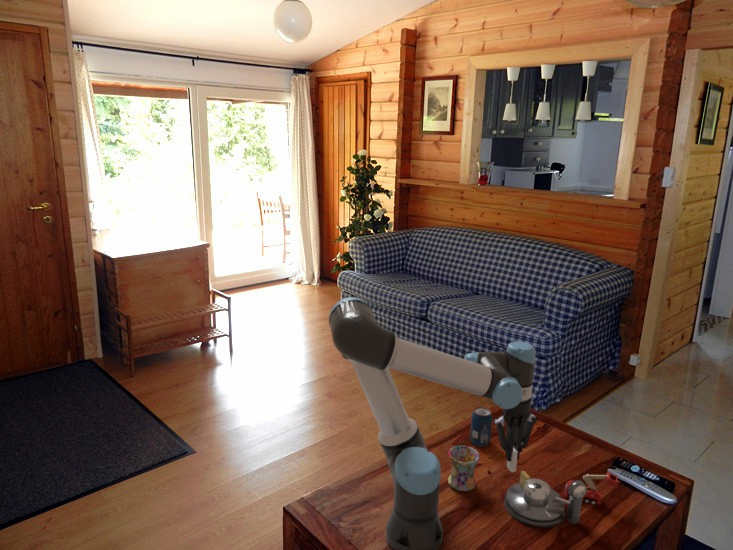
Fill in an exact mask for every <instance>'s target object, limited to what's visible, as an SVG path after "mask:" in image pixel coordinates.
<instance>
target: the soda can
mask: <svg viewBox="0 0 733 550" xmlns="http://www.w3.org/2000/svg"><path fill="white" fill-rule="evenodd" d="M470 421H471V423H470V433H469V435H470V436H469V439H470V441H471V443H472V445H474V446H476V447H479V448H482V447H487V446H488V445H489V444H490V442H491V440H492V439H491V437H492V426H493V415H492V411H491V410H490V409H489V408H486V407H484V406H483V407H482V406H481V407H480V406H479V407H475V408H474V410H473V412H472V413H471V420H470Z"/></svg>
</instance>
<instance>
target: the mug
mask: <svg viewBox="0 0 733 550" xmlns="http://www.w3.org/2000/svg"><path fill="white" fill-rule="evenodd" d="M448 457H449V459H450V462H451V463H450V464H451V472H450V475H449V477H448V479H447V482H448V485H449V486H450V487H451V488H452V489H454V490H456V491H459V492H469V491H472V490H473V489H475V487H476V485H477V481H476V479H475V469H476V465H477V464H478V462H479V460H480V458H481V455H480V453H479V452H478V451H477V450H476V449H475V448H473V447H470V446H468V445H457V446H456V445H455V446H453V447H451V448H450V449H449V450H448Z"/></svg>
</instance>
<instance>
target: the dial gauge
mask: <svg viewBox="0 0 733 550" xmlns="http://www.w3.org/2000/svg"><path fill="white" fill-rule="evenodd" d="M572 481H573V482H572V483H571V484H570V485H569V487H568V492H569V494H570V495H569V497H568V500H566V499H564V498H562V499H561V498H558V497H556V499H555V500H557V501H560V502H563V503H564V504H565V505H566V504H567V510H566V516H565V519H566V520H567V521H568V522H569V524H570V525H574V524H578V523H580V516H581V511H582V503H583V501H582V498H583V497H584V496H585V495H586V493H587V487H586V486H587V484H585V483H584V482H583V481H581V480H579V479H577V480H572Z"/></svg>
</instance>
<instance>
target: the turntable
mask: <svg viewBox="0 0 733 550" xmlns="http://www.w3.org/2000/svg"><path fill="white" fill-rule="evenodd" d="M519 475H520V476H519V482H516V483H514V484H512V485H511V486H509V488H508V489H507V491H506V493H507V497H506V501H507V504H508V506H509V507H510V509H511V510H512V511H513V512H515V513H516V514H517V515H519V516H521V517H523V518H525V519H527V520H530V521H534V522H540V523H548V522H553V521H556V520H558V519H559V518H561V517H562V515H563V513H564V507H565V508H566V503H563V502H560V501H557V500H555V499H556V497H558V498H561V499H563V497H562V496H561V495H560V493H558V492H557V491H555V490H554V489H553V488H551V487H550V495H549V503H548V505H547V506H546V507H542V508H537V507H533V506H530V505H529V504H527V503H526V502H525V501H524V499H523V495H524V486H525V482H526V480H528V479H531V477H530V475H529V474H528V473H527V472H526V471H525V470H521V471H520V474H519Z"/></svg>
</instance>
